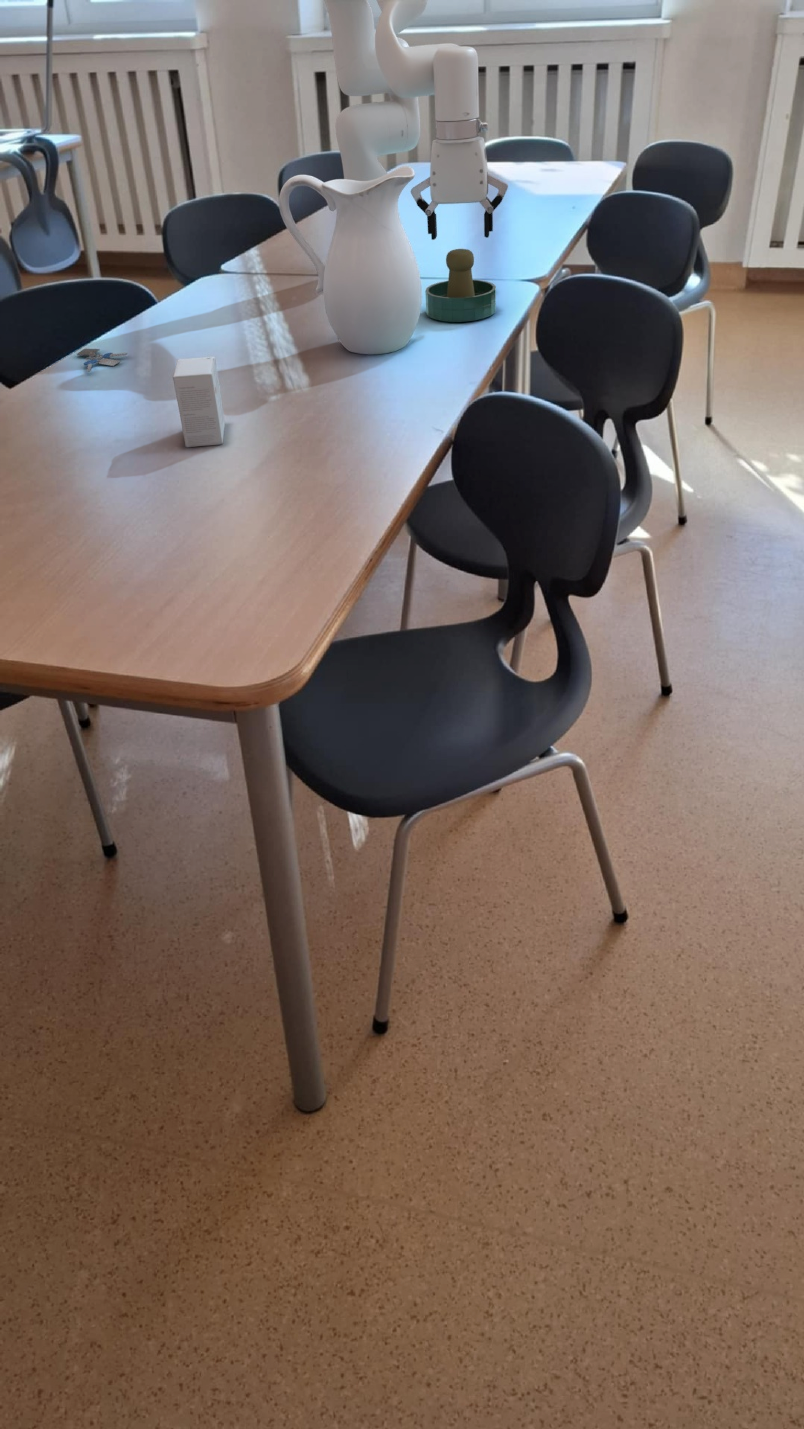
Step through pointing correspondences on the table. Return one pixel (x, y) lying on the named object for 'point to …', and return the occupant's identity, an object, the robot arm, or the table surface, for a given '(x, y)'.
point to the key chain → (99, 357)
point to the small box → (199, 401)
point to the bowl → (461, 302)
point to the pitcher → (364, 261)
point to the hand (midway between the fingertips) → (460, 237)
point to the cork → (460, 273)
